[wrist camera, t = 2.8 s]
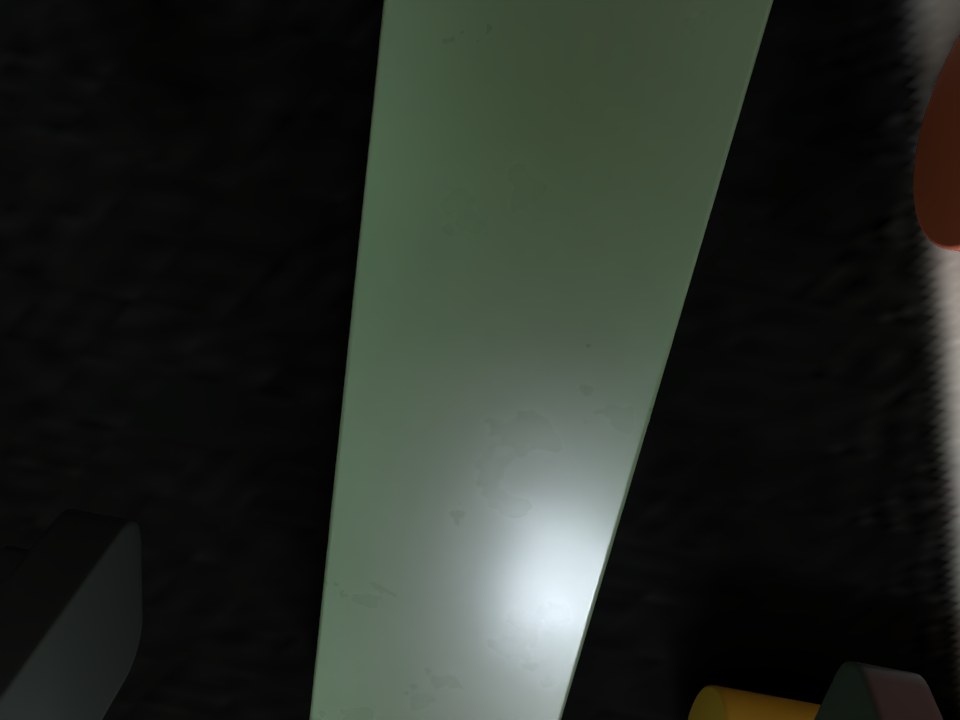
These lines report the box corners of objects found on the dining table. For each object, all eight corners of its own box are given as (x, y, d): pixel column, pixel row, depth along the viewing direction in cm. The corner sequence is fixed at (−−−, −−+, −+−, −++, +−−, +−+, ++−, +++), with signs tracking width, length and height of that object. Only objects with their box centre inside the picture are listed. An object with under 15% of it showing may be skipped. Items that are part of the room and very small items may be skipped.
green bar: (338, 745, 19) (286, 939, 16) (468, -275, 11) (419, -349, 7) (500, 775, 19) (485, 976, 16) (760, -220, 11) (854, -271, 7)
